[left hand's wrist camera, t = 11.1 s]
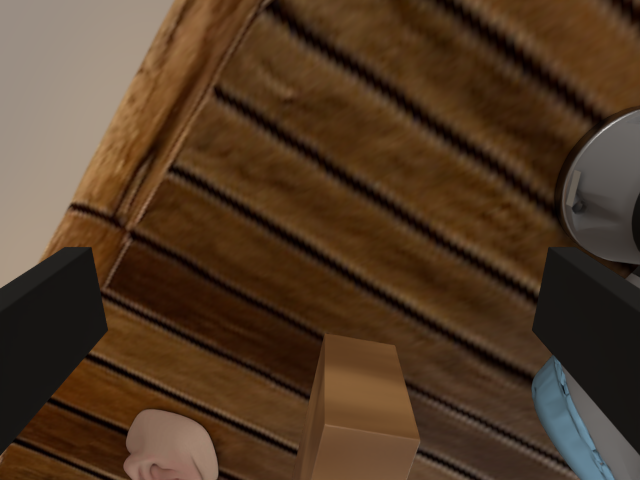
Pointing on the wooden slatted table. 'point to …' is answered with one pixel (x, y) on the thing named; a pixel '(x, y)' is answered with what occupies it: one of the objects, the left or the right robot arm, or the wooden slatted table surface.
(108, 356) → the wooden slatted table surface
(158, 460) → the anatomical model
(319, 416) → the bar
